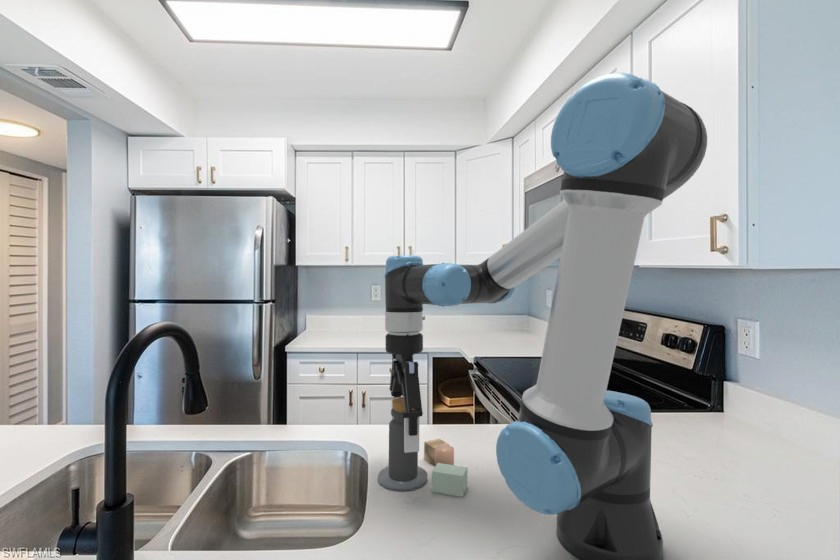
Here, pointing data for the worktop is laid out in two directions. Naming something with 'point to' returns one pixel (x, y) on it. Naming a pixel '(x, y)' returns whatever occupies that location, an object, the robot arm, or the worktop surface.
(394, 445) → the bottle
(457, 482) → the sage block
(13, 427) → the worktop surface
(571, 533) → the robot arm
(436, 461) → the salmon pink block
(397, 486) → the coaster
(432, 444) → the oak block
